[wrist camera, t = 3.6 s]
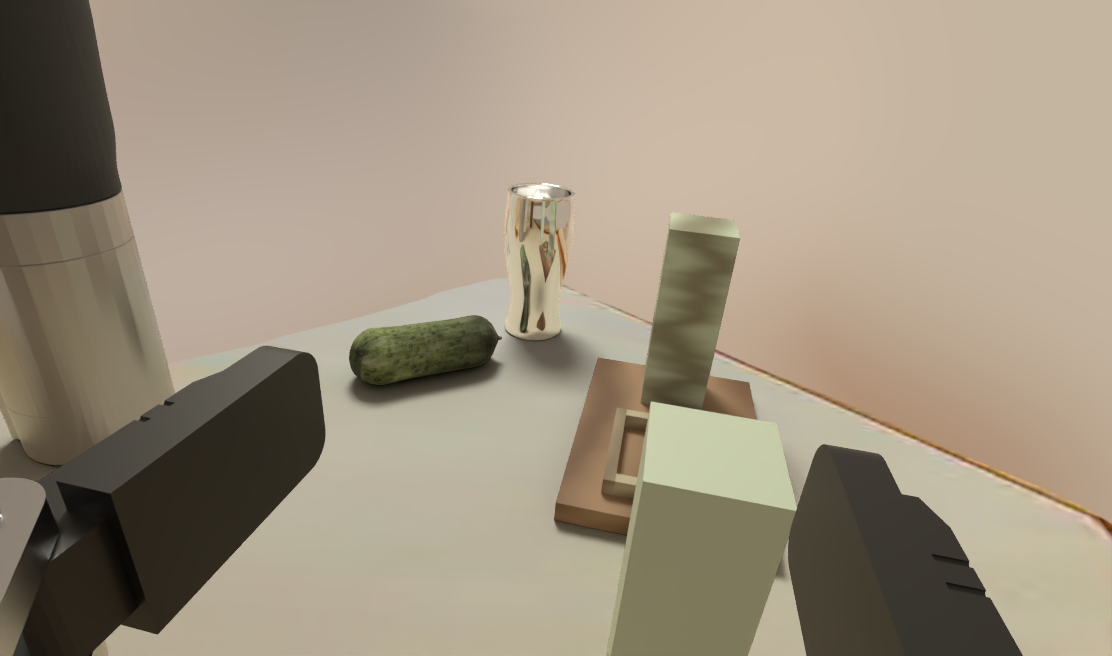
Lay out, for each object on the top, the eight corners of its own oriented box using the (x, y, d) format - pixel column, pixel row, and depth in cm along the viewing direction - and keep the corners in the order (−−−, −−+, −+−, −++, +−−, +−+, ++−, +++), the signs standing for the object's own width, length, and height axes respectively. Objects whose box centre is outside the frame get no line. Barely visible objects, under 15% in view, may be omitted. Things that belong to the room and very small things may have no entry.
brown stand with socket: (554, 520, 38) (577, 286, 30) (596, 371, 55) (617, 201, 48) (775, 566, 36) (856, 327, 28) (745, 396, 53) (790, 222, 46)
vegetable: (358, 401, 48) (353, 349, 46) (346, 372, 52) (341, 322, 50) (510, 371, 55) (512, 324, 52) (489, 346, 59) (490, 301, 56)
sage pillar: (595, 739, 26) (642, 480, 19) (608, 639, 30) (650, 401, 24) (708, 769, 25) (797, 511, 19) (704, 662, 30) (776, 423, 23)
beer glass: (561, 346, 59) (574, 202, 53) (495, 338, 60) (499, 195, 53) (566, 318, 66) (578, 186, 59) (506, 311, 66) (511, 179, 59)
